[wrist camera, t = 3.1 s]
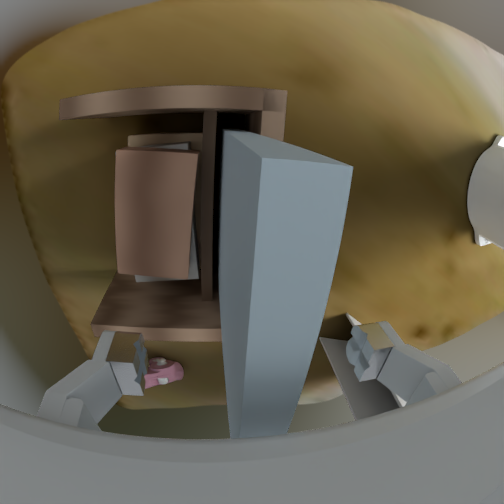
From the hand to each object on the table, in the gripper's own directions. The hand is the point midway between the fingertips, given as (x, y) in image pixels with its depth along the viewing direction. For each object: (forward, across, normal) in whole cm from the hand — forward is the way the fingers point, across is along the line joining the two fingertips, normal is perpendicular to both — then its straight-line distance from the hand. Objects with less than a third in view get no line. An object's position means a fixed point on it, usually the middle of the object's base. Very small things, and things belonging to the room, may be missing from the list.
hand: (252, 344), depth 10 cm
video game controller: (+21, +11, +24) cm, 34 cm away
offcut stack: (+21, +6, 0) cm, 22 cm away
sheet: (+21, 0, 0) cm, 21 cm away
